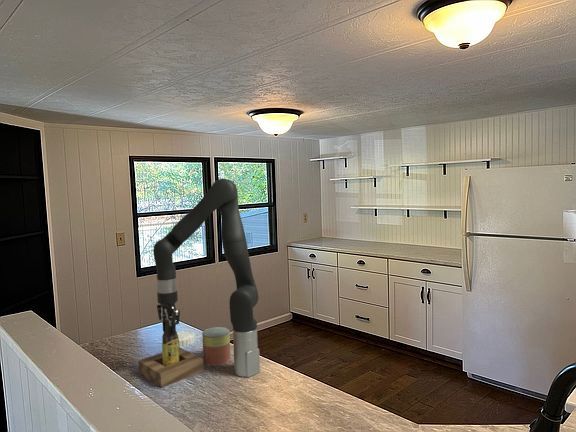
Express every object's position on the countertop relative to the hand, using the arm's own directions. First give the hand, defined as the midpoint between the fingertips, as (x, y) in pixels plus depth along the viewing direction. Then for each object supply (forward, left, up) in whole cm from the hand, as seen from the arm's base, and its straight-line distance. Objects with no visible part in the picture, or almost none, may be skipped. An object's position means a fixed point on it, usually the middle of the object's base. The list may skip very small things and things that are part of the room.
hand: (169, 332), depth 166 cm
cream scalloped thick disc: (+25, -20, -16) cm, 36 cm away
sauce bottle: (0, 0, -14) cm, 14 cm away
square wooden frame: (0, 0, -16) cm, 16 cm away
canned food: (-4, -19, -16) cm, 25 cm away
